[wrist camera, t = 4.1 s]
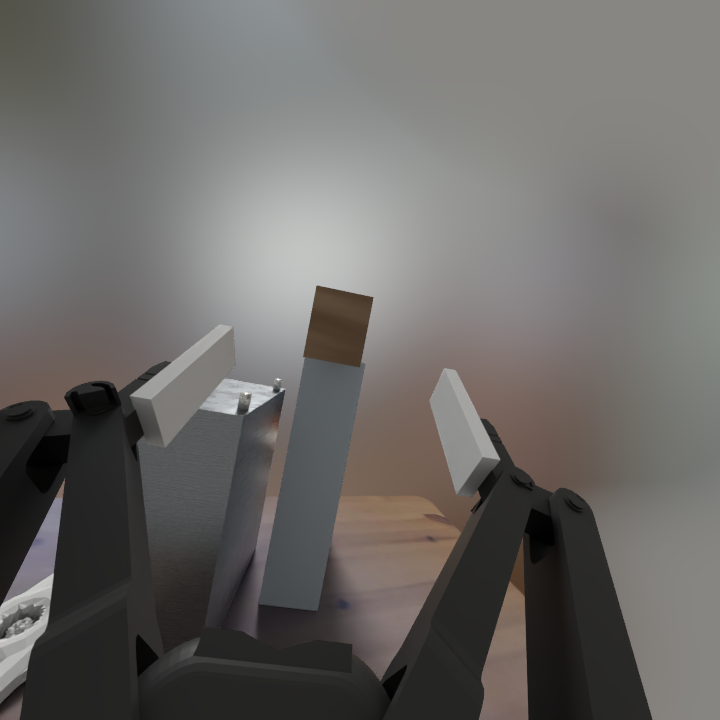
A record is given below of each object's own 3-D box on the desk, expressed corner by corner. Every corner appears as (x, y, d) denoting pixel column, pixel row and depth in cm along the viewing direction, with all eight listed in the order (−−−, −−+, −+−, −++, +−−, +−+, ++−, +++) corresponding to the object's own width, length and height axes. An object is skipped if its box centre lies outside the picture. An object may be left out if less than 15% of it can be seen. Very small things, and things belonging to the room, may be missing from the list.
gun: (74, 528, 32) (152, 546, 31) (70, 554, 32) (148, 571, 32) (-327, 779, 13) (-146, 826, 13) (-327, 835, 14) (-150, 881, 13)
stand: (258, 604, 30) (305, 352, 30) (284, 524, 44) (317, 352, 44) (317, 611, 31) (365, 363, 30) (325, 530, 45) (358, 360, 44)
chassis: (67, 680, 21) (121, 376, 21) (185, 539, 37) (217, 366, 37) (192, 692, 22) (246, 398, 21) (255, 548, 38) (287, 379, 37)
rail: (360, 367, 18) (373, 297, 18) (303, 356, 18) (316, 285, 18) (349, 358, 46) (354, 330, 46) (326, 354, 46) (332, 326, 46)
